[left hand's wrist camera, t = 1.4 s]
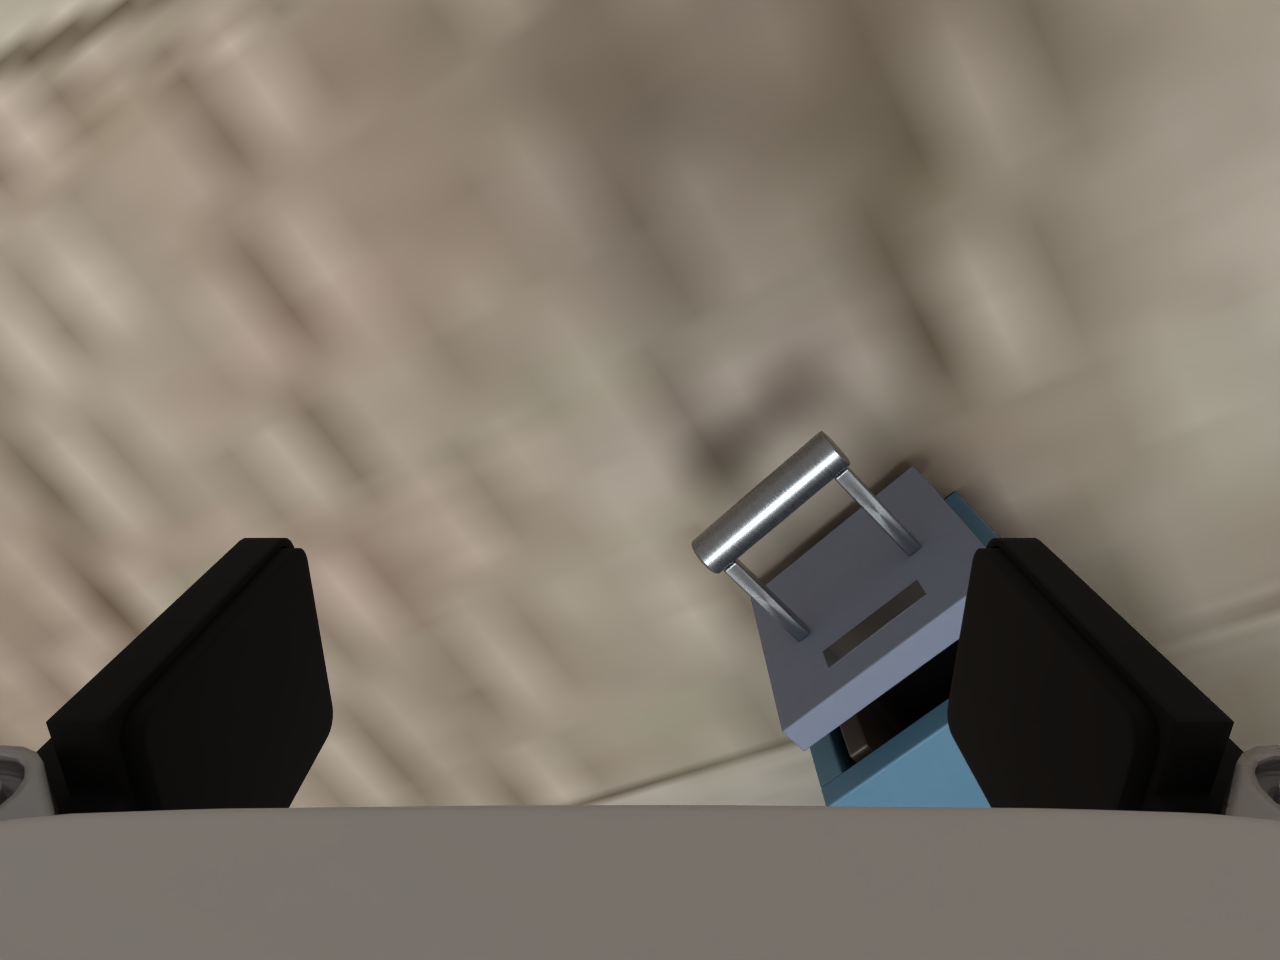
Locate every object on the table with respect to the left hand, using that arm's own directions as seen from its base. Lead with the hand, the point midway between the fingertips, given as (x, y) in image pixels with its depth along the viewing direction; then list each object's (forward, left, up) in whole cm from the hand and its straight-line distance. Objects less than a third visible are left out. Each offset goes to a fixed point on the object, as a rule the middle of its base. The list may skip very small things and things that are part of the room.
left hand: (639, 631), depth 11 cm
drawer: (-7, +17, -22) cm, 29 cm away
